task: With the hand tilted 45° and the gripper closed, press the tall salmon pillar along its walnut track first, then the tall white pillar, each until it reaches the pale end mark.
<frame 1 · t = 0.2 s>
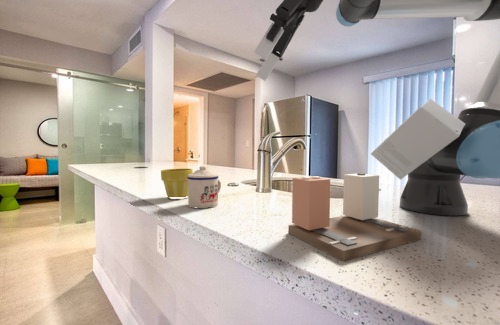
hand: (260, 68, 55), 35 cm above the countertop, tool tilted 35°, fingers open, 13 cm apart
tall white pillar: (360, 194, 54), point 7 cm above the countertop, slide at 0.0 cm
tall salmon pillar: (310, 201, 48), point 7 cm above the countertop, slide at 0.0 cm
walnut track board: (352, 235, 48), on the countertop
plant pot: (177, 198, 85), on the countertop
teacup with lid: (206, 205, 75), on the countertop
supplement box: (390, 160, 62), point 14 cm above the countertop
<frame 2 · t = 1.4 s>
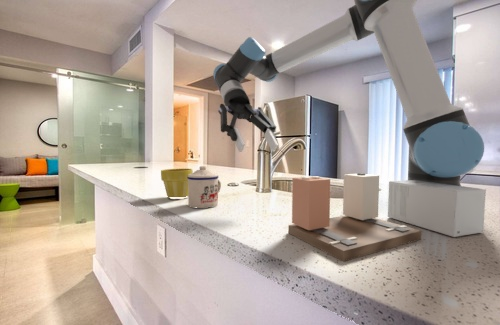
hand: (259, 148, 66), 17 cm above the countertop, tool tilted 45°, fingers open, 9 cm apart
supplement box: (400, 197, 62), point 5 cm above the countertop
everything else where it was.
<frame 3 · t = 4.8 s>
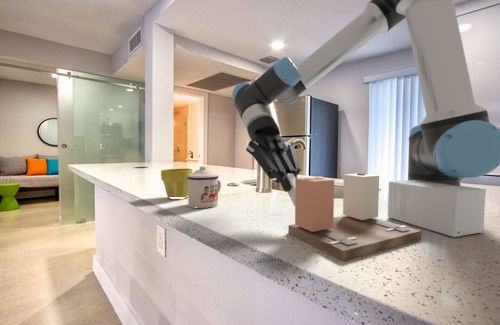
hand: (300, 202, 50), 6 cm above the countertop, tool tilted 45°, fingers closed
tall salmon pillar: (314, 201, 47), point 7 cm above the countertop, slide at 1.0 cm, touching gripper
everything else where it was.
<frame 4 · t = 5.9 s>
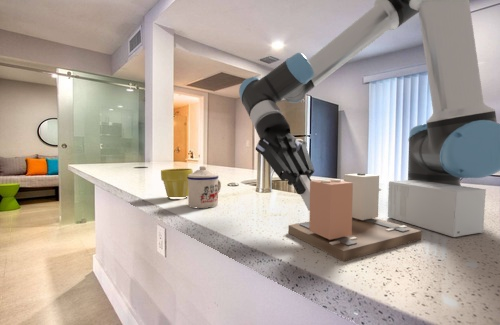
hand: (315, 206, 47), 6 cm above the countertop, tool tilted 45°, fingers closed
tall salmon pillar: (330, 206, 43), point 7 cm above the countertop, slide at 5.2 cm, touching gripper
everything else where it was.
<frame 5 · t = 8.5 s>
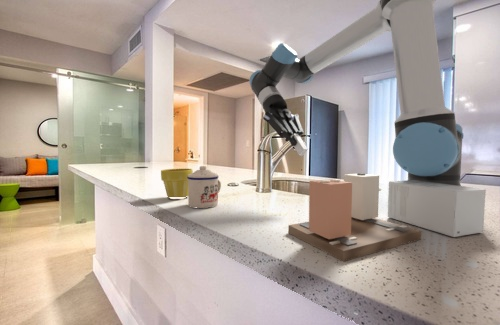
hand: (303, 152, 71), 16 cm above the countertop, tool tilted 45°, fingers closed
tall salmon pillar: (329, 206, 44), point 7 cm above the countertop, slide at 5.0 cm
everything else where it was.
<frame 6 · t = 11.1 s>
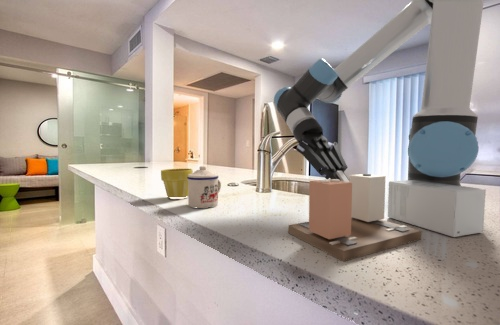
hand: (351, 196, 56), 6 cm above the countertop, tool tilted 45°, fingers closed
tall white pillar: (366, 195, 53), point 7 cm above the countertop, slide at 1.4 cm, touching gripper
everything else where it was.
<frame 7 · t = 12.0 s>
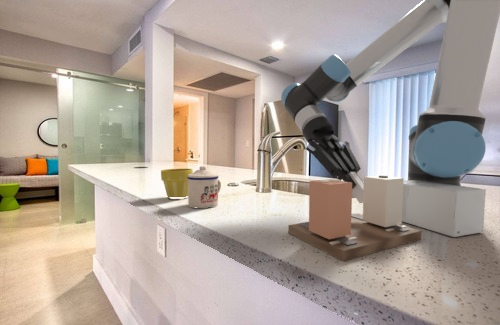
hand: (365, 199, 53), 6 cm above the countertop, tool tilted 45°, fingers closed
tall white pillar: (382, 199, 50), point 7 cm above the countertop, slide at 5.2 cm, touching gripper
everything else where it was.
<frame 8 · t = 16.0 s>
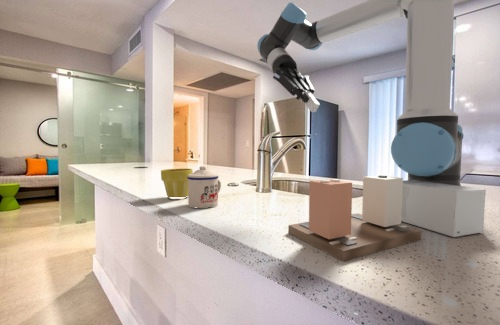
hand: (315, 108, 69), 28 cm above the countertop, tool tilted 45°, fingers closed
tall white pillar: (381, 199, 50), point 7 cm above the countertop, slide at 5.0 cm
everything else where it was.
at the end: tall salmon pillar slide at 5.0 cm; tall white pillar slide at 5.0 cm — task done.
